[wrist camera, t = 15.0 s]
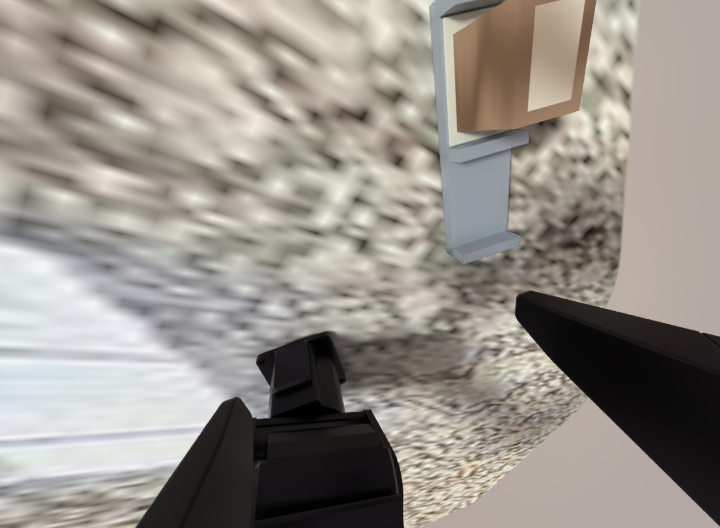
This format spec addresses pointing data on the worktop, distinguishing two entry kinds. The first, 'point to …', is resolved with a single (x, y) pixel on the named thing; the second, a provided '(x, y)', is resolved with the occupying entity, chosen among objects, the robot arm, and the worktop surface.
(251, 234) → the worktop surface
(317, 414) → the robot arm
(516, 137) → the bracket
